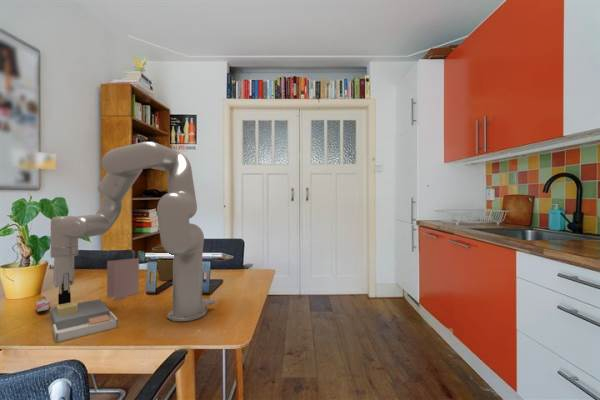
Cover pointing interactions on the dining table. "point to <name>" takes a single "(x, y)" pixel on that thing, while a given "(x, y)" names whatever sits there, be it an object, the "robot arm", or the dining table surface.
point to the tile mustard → (67, 309)
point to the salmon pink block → (98, 319)
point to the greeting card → (122, 278)
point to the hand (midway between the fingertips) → (64, 304)
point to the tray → (83, 329)
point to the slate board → (80, 314)
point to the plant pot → (164, 266)
